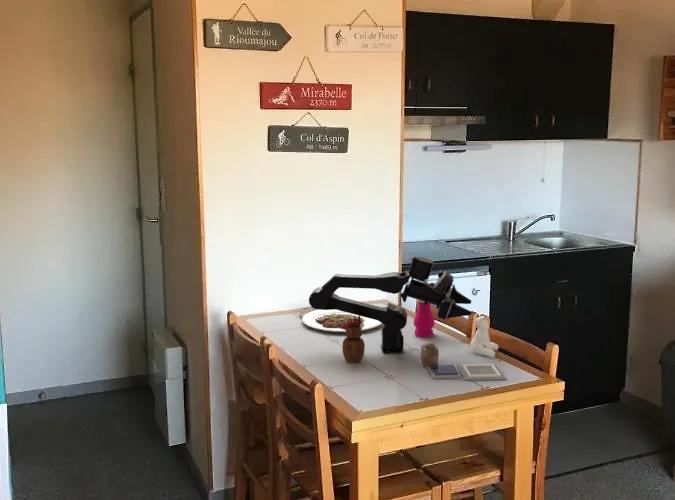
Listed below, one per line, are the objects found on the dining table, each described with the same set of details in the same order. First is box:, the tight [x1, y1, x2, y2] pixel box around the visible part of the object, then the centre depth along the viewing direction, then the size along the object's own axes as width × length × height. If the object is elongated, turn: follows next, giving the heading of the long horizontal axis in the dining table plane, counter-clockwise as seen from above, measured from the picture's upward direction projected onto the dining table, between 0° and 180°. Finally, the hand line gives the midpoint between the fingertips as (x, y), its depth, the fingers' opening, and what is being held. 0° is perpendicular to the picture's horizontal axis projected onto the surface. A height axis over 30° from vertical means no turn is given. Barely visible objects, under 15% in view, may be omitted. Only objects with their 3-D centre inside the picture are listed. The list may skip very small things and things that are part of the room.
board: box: [456, 363, 508, 382], centre depth 212 cm, size 12×12×1 cm
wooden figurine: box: [342, 314, 366, 364], centre depth 221 cm, size 7×6×15 cm
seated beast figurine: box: [469, 315, 499, 359], centre depth 229 cm, size 10×9×12 cm
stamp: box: [420, 342, 439, 368], centre depth 219 cm, size 4×4×6 cm
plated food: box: [301, 309, 383, 333], centre depth 262 cm, size 30×30×3 cm
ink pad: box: [427, 364, 462, 380], centre depth 211 cm, size 8×8×1 cm
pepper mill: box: [413, 279, 436, 338], centre depth 246 cm, size 7×7×20 cm
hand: (471, 307), depth 226 cm, fingers open, 9 cm apart
